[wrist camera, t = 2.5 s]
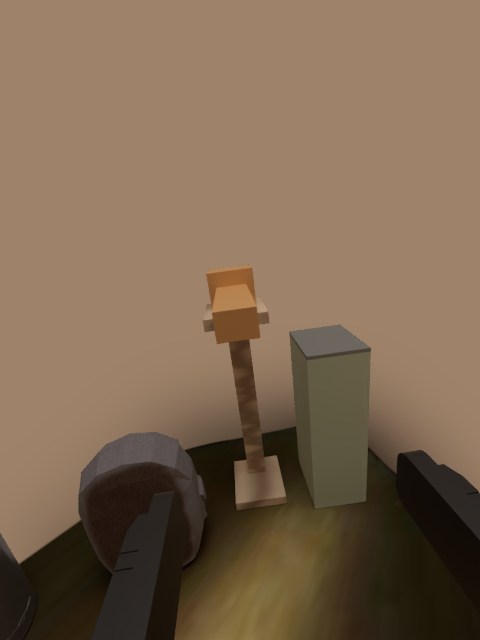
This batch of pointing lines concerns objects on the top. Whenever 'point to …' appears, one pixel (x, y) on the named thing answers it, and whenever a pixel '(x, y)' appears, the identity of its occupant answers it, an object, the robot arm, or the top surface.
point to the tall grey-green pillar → (331, 413)
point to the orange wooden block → (233, 304)
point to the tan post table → (251, 429)
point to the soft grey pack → (138, 491)
